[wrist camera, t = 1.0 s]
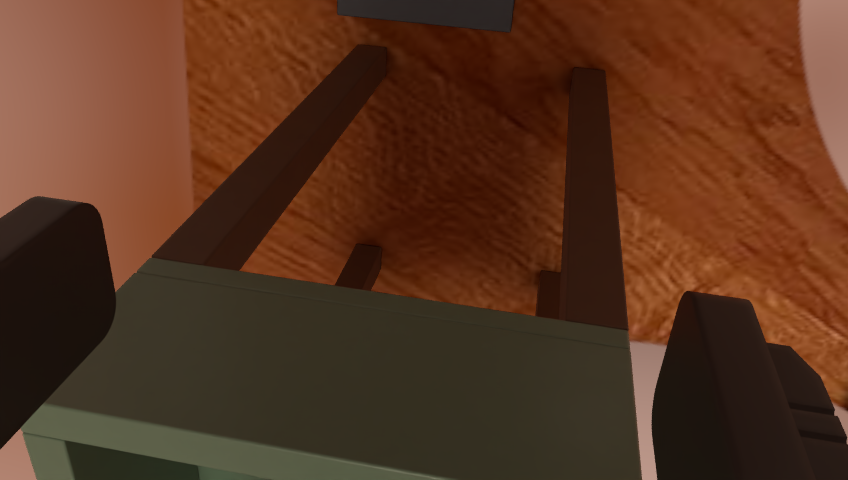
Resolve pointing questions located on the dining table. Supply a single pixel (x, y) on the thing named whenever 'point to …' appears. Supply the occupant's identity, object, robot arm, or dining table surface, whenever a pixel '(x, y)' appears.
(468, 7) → the coaster
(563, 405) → the cabinet
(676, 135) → the dining table surface
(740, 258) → the dining table surface
